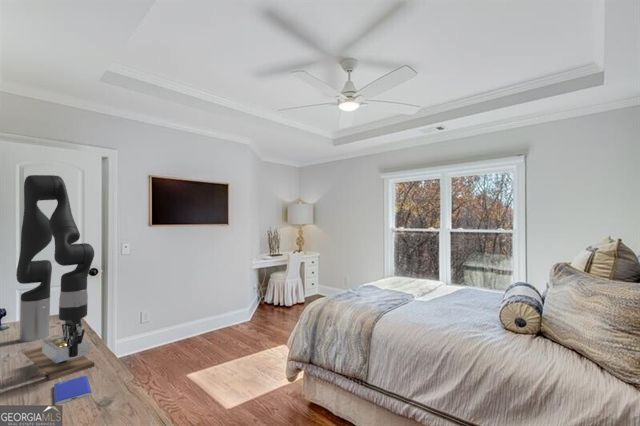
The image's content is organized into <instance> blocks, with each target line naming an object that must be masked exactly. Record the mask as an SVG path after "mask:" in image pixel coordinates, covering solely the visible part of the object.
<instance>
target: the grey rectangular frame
mask: <svg viewBox="0 0 640 426" xmlns="http://www.w3.org/2000/svg"><path fill="white" fill-rule="evenodd" d="M61 343H66V341H64V336H58V337H57V336H56V337H53V338H49V339H45V340H42V345H41V347H42V353H43V354H45V355H46V356H47V357H48V358H50V359H51V360H52V361H54V362H55V363H59V362H62V361H65V360H69V359H72V358H76V357H79V356H86V355H89V354H90V341H88V340H87V339H85V338H83V339H82V342H81V344H78V355H77V356H75V357H72V358H70V357H69V346H67V347H63V348H59V347H58V346H59V345H60V344H61Z"/></svg>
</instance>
